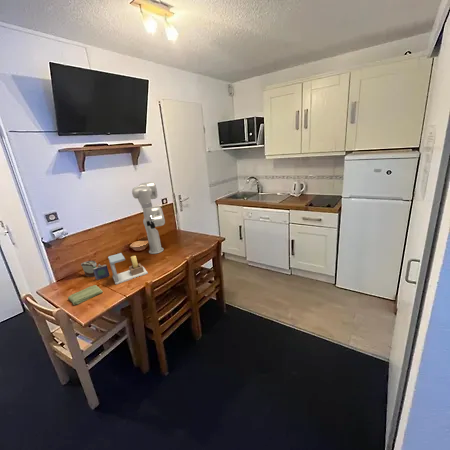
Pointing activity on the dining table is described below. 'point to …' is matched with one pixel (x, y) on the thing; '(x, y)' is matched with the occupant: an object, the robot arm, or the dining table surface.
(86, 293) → the washcloth
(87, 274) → the food container
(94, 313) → the dining table surface
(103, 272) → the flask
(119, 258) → the socket station
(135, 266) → the peg
